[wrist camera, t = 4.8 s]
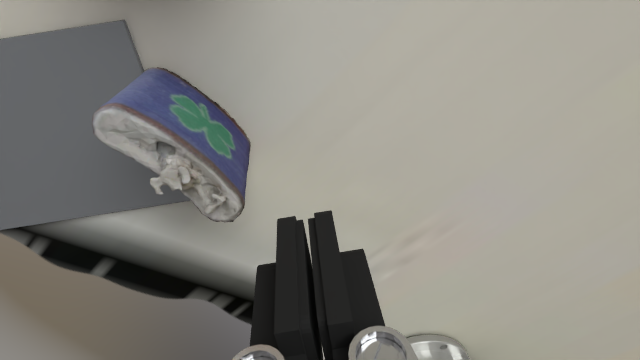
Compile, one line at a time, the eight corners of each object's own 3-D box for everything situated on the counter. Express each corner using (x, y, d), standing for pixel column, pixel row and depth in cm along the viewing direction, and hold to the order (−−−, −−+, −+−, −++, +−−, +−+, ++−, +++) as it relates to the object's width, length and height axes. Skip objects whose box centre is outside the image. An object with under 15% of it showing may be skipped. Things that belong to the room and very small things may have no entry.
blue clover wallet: (134, 83, 25) (59, 144, 16) (160, 53, 24) (99, 97, 15) (235, 165, 29) (225, 251, 20) (261, 141, 28) (262, 219, 19)
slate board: (124, 19, 23) (122, 20, 23) (191, 197, 30) (190, 200, 30) (-133, 59, 23) (-139, 60, 23) (-7, 228, 30) (-10, 231, 30)
